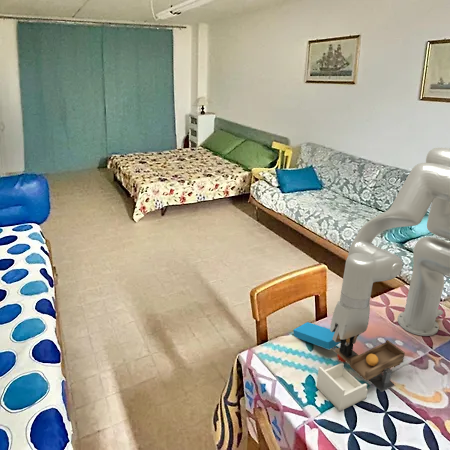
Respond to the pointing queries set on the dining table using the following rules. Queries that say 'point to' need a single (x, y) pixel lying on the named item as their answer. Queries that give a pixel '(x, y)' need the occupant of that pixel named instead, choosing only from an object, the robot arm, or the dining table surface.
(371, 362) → the ball
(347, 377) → the box
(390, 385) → the stand
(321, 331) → the lever
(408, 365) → the dining table surface
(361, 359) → the brown shallow tray
